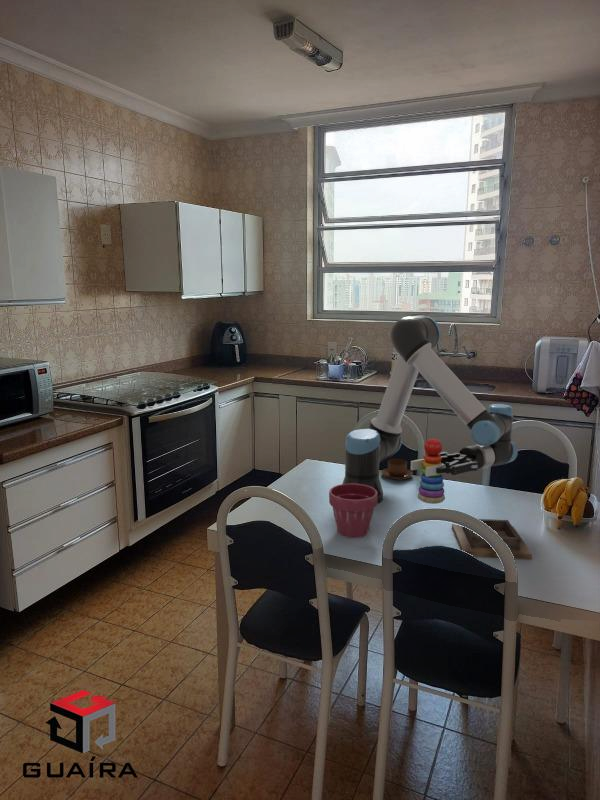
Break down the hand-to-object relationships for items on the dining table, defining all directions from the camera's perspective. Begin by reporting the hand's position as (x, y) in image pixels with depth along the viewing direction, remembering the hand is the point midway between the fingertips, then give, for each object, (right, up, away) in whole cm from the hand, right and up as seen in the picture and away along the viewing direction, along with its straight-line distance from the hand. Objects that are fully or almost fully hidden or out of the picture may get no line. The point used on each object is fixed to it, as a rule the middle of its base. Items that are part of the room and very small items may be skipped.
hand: (419, 468), depth 161 cm
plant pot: (-19, -20, +5) cm, 28 cm away
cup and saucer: (+3, -10, +54) cm, 56 cm away
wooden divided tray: (+19, -21, -3) cm, 29 cm away
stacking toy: (+5, -10, +4) cm, 12 cm away
